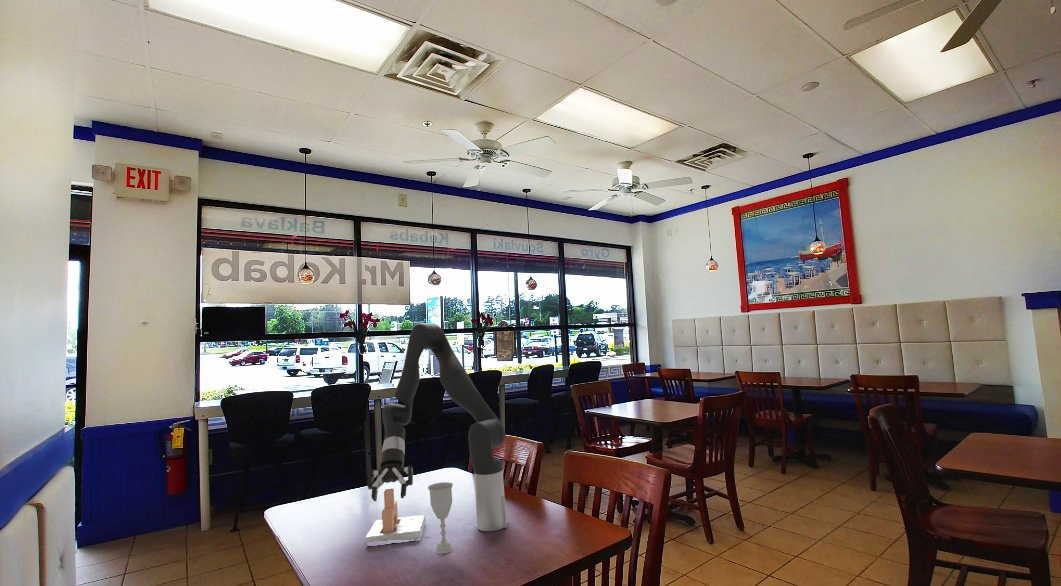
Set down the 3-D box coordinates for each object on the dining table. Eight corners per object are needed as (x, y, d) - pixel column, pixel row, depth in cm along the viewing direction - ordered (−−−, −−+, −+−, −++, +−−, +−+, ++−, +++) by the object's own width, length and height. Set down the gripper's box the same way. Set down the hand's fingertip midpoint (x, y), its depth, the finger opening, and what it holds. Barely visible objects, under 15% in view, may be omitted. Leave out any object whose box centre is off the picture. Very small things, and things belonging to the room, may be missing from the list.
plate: (425, 524, 164) (425, 514, 164) (420, 540, 150) (419, 530, 150) (376, 529, 162) (375, 520, 162) (366, 547, 148) (365, 537, 148)
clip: (398, 529, 161) (396, 485, 162) (393, 541, 151) (390, 494, 153) (389, 530, 161) (386, 486, 162) (383, 542, 151) (380, 495, 152)
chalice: (459, 544, 145) (455, 481, 146) (453, 554, 138) (449, 488, 140) (435, 545, 145) (431, 483, 147) (428, 555, 139) (424, 490, 140)
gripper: (369, 449, 165) (363, 495, 153) (412, 445, 167) (409, 490, 154) (373, 461, 170) (367, 507, 158) (415, 457, 172) (412, 502, 159)
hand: (388, 498), depth 156 cm, fingers open, 8 cm apart
